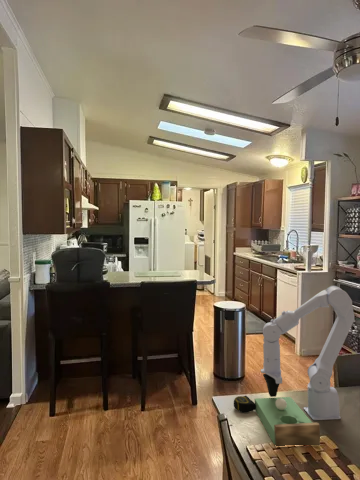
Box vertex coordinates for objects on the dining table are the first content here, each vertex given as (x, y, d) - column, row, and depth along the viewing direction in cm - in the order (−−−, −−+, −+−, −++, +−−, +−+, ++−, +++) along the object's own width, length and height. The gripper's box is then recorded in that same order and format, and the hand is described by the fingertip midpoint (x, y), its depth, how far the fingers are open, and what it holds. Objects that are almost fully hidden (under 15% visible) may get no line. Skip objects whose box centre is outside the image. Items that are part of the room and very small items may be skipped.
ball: (284, 406, 112) (284, 395, 112) (288, 412, 108) (288, 400, 108) (274, 407, 112) (273, 396, 112) (277, 412, 108) (277, 401, 108)
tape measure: (256, 413, 116) (256, 402, 116) (238, 416, 114) (238, 405, 114) (247, 404, 123) (247, 394, 123) (230, 406, 121) (230, 396, 121)
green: (290, 408, 119) (290, 396, 119) (320, 445, 97) (319, 431, 97) (254, 409, 118) (254, 398, 118) (276, 447, 96) (275, 433, 96)
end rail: (318, 443, 98) (317, 422, 98) (320, 445, 97) (319, 424, 97) (274, 445, 97) (274, 424, 97) (276, 447, 96) (275, 426, 96)
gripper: (255, 351, 126) (255, 387, 125) (267, 365, 111) (268, 406, 111) (273, 350, 126) (274, 386, 126) (287, 364, 111) (288, 405, 111)
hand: (272, 395), depth 118 cm, fingers closed
